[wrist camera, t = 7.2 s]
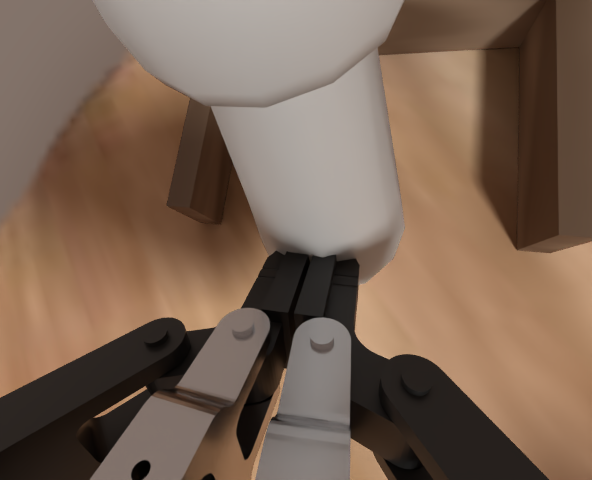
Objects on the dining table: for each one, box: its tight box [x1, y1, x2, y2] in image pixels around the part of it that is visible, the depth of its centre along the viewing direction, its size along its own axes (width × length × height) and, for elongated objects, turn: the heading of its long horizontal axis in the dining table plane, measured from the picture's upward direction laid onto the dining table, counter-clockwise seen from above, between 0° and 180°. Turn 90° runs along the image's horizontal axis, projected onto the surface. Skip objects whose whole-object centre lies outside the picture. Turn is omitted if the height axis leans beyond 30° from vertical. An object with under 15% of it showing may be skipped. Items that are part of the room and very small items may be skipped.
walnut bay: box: [167, 0, 592, 253], centre depth 13 cm, size 18×11×6 cm, turn 82°
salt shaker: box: [92, 0, 405, 285], centre depth 9 cm, size 6×6×13 cm
